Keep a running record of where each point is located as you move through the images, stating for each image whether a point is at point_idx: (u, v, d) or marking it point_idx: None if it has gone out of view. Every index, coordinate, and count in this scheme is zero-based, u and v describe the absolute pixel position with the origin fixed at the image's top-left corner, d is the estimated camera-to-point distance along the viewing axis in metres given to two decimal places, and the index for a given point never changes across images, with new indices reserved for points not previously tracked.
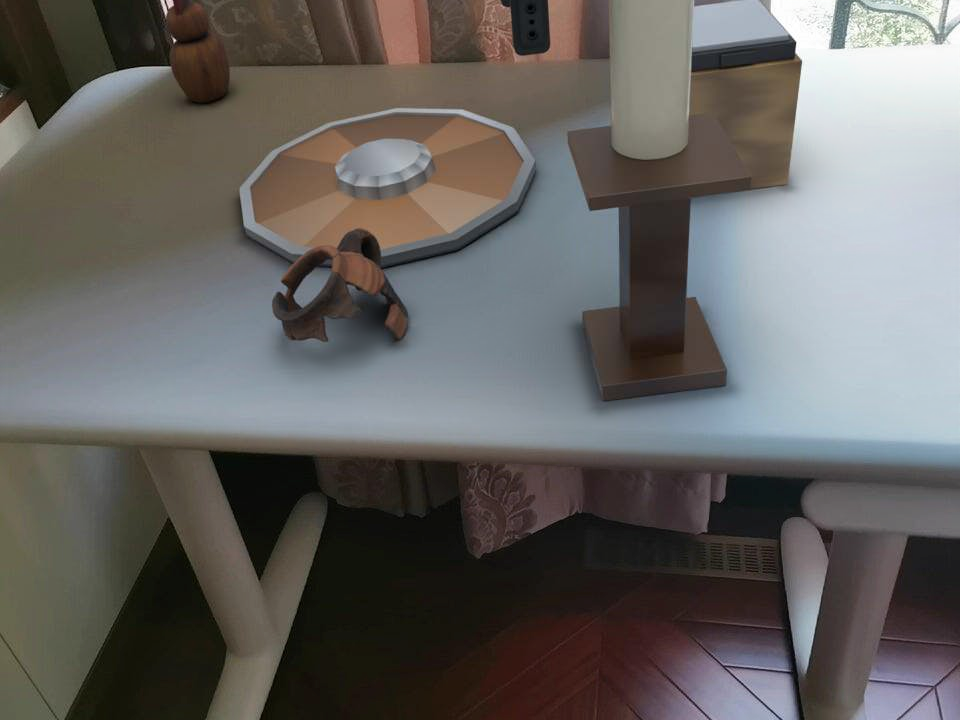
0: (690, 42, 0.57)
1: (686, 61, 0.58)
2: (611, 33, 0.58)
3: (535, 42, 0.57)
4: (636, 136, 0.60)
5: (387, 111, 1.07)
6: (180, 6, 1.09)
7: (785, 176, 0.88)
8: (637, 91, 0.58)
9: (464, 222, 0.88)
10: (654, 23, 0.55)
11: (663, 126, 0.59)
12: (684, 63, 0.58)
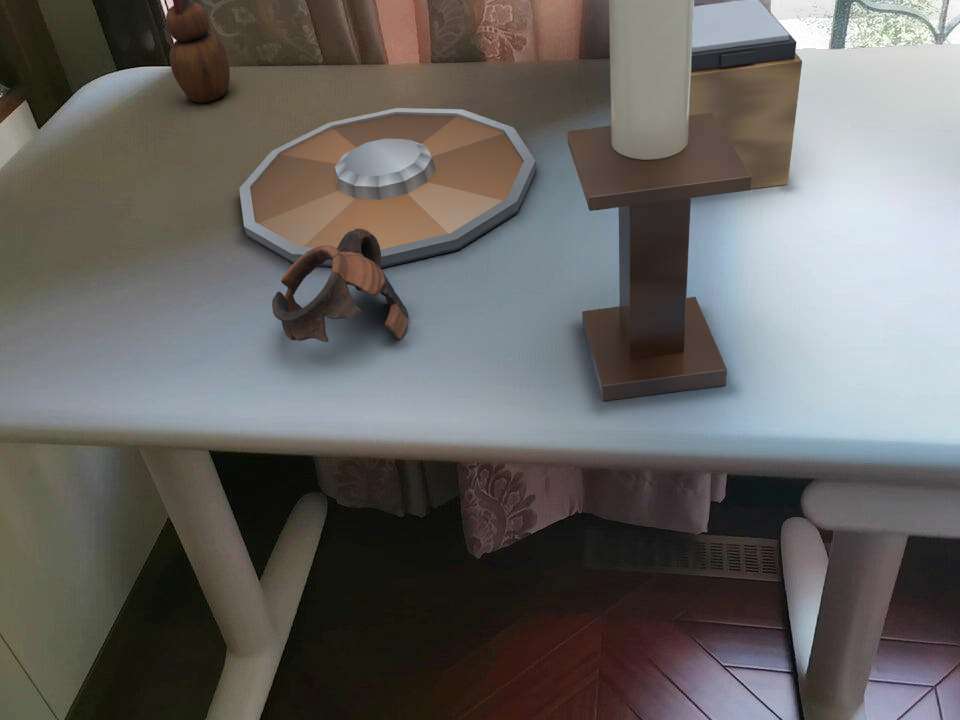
0: (690, 42, 0.57)
1: (686, 61, 0.58)
2: (611, 33, 0.58)
3: None
4: (636, 136, 0.60)
5: (387, 111, 1.07)
6: (180, 6, 1.09)
7: (785, 176, 0.88)
8: (637, 91, 0.58)
9: (464, 222, 0.88)
10: (654, 23, 0.55)
11: (663, 126, 0.59)
12: (684, 63, 0.58)
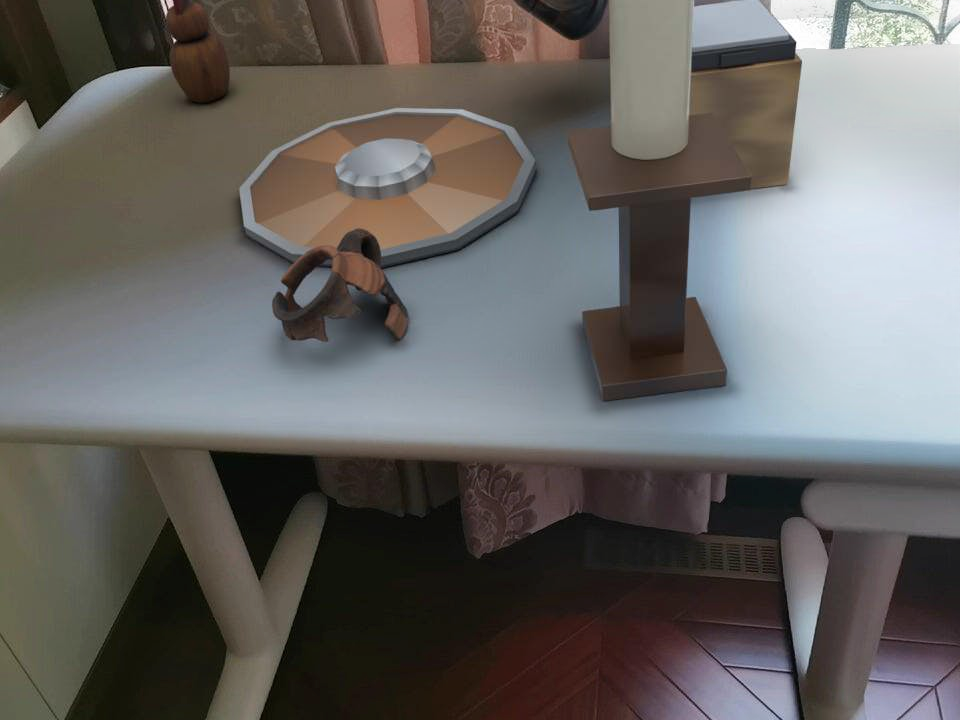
0: (690, 42, 0.57)
1: (686, 61, 0.58)
2: (611, 33, 0.58)
3: None
4: (636, 136, 0.60)
5: (387, 111, 1.07)
6: (180, 6, 1.09)
7: (785, 176, 0.88)
8: (637, 91, 0.58)
9: (464, 222, 0.88)
10: (654, 23, 0.55)
11: (663, 126, 0.59)
12: (684, 63, 0.58)
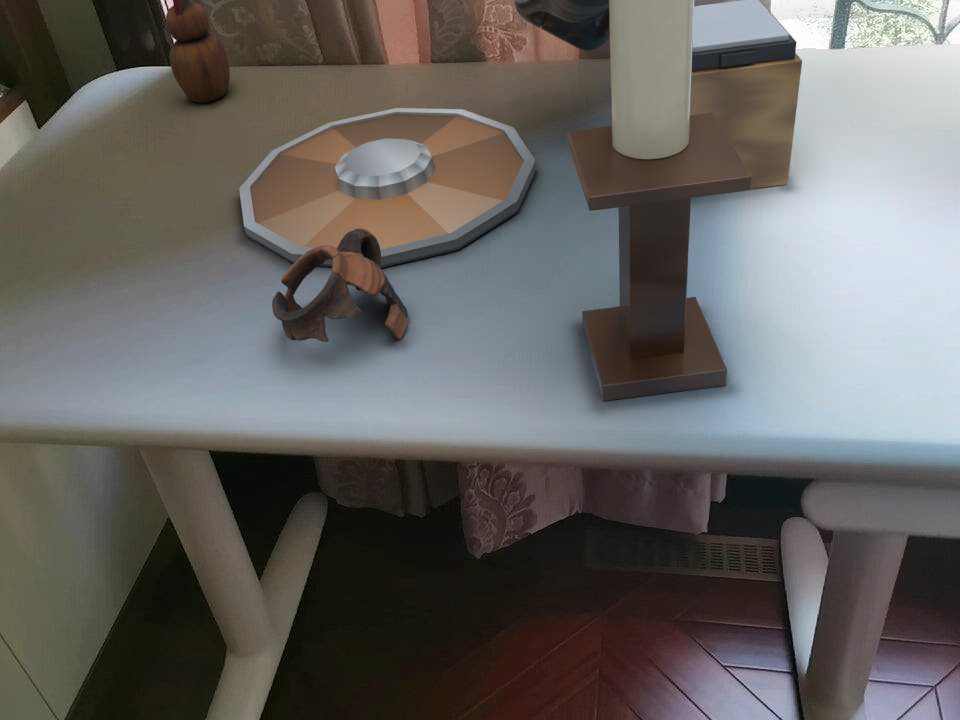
0: (690, 41, 0.57)
1: (686, 60, 0.58)
2: (611, 33, 0.58)
3: None
4: (637, 136, 0.60)
5: (387, 111, 1.07)
6: (180, 6, 1.09)
7: (785, 176, 0.88)
8: (638, 91, 0.58)
9: (464, 222, 0.88)
10: (654, 23, 0.55)
11: (663, 126, 0.59)
12: (684, 63, 0.58)
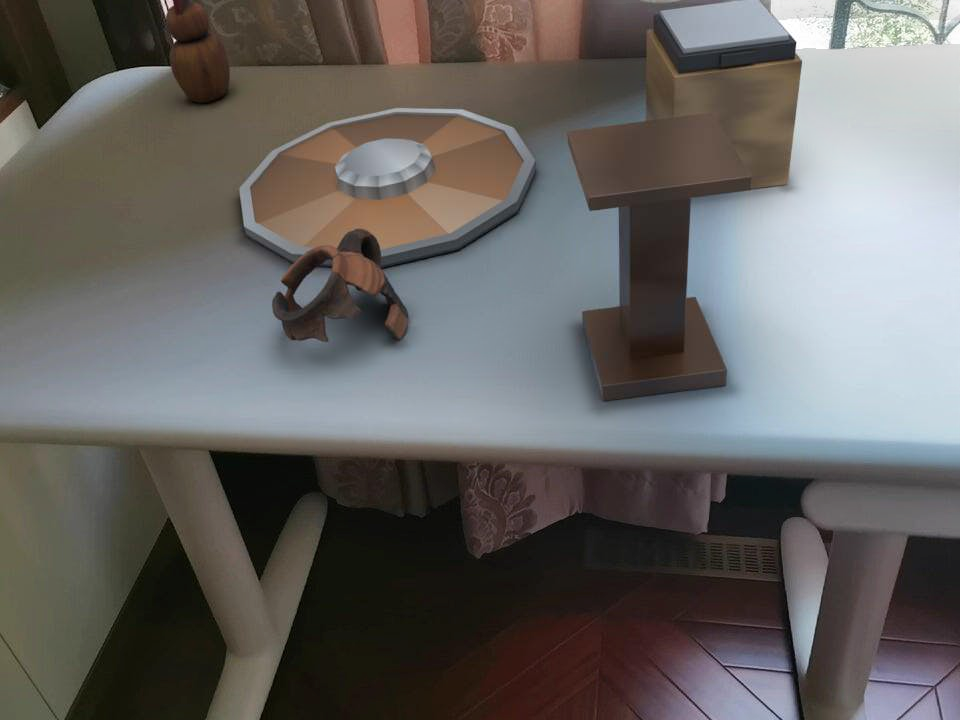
0: None
1: None
2: None
3: None
4: None
5: (387, 111, 1.07)
6: (180, 6, 1.09)
7: (785, 176, 0.88)
8: None
9: (464, 222, 0.88)
10: None
11: None
12: None
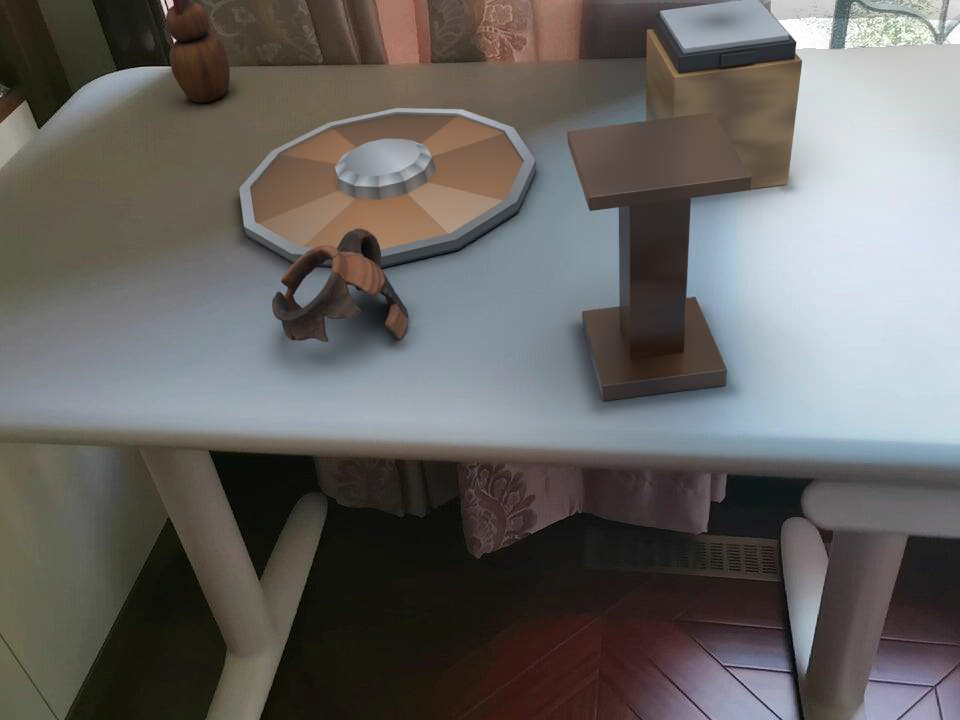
0: None
1: None
2: None
3: None
4: None
5: (387, 111, 1.07)
6: (180, 6, 1.09)
7: (785, 176, 0.88)
8: None
9: (464, 222, 0.88)
10: None
11: None
12: None
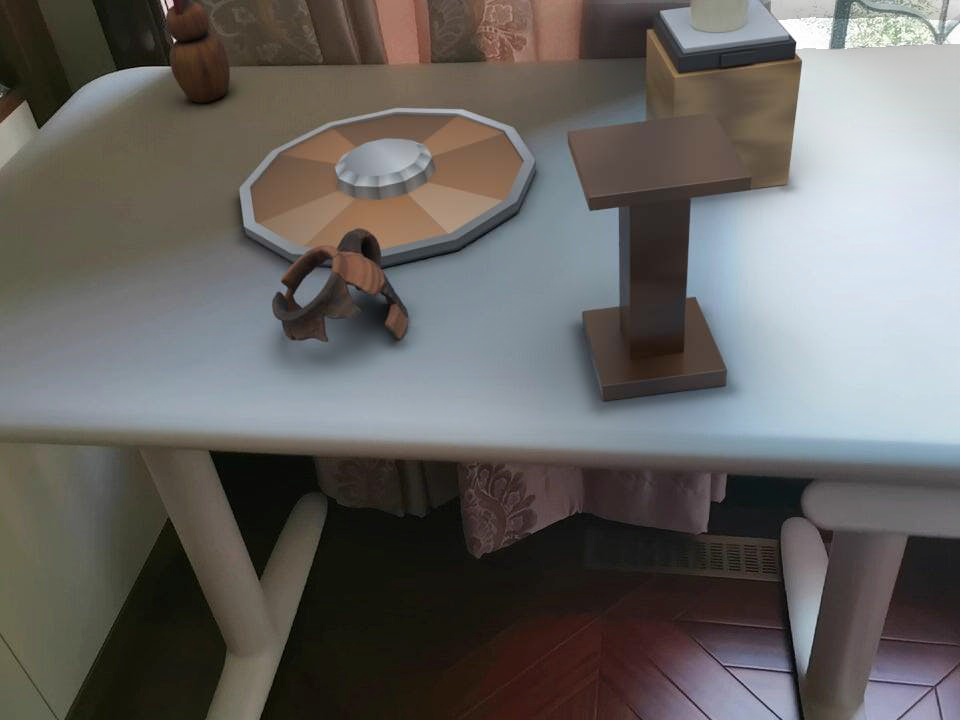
0: None
1: None
2: None
3: None
4: (710, 14, 0.82)
5: (387, 111, 1.07)
6: (180, 6, 1.09)
7: (785, 176, 0.88)
8: None
9: (464, 222, 0.88)
10: None
11: (730, 6, 0.81)
12: None
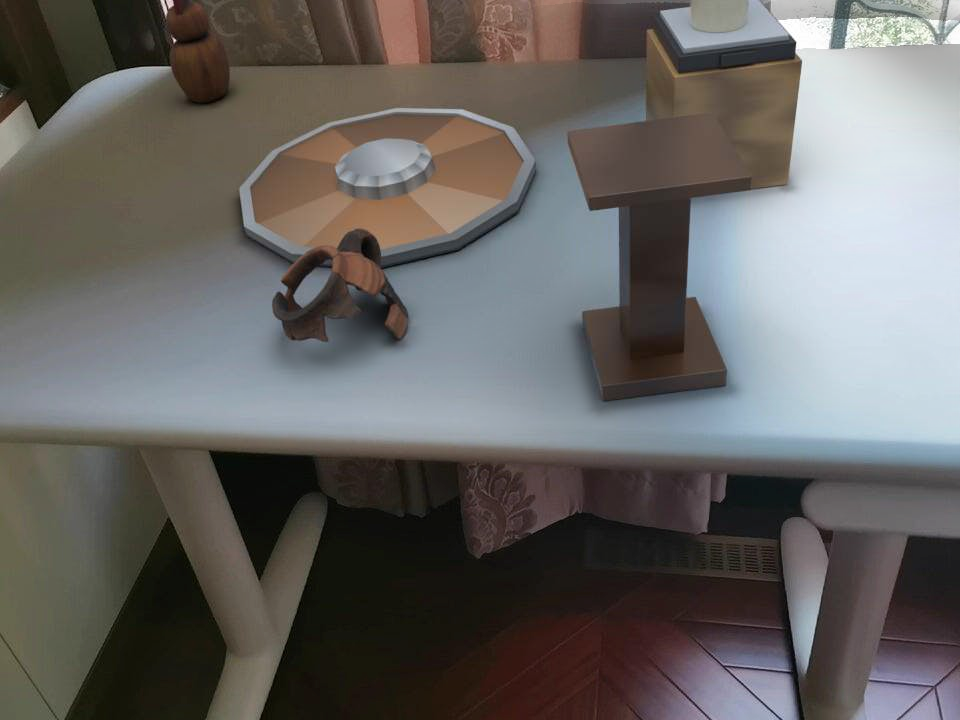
0: None
1: None
2: None
3: None
4: (710, 14, 0.82)
5: (387, 111, 1.07)
6: (180, 6, 1.09)
7: (785, 176, 0.88)
8: None
9: (464, 222, 0.88)
10: None
11: (730, 6, 0.81)
12: None
